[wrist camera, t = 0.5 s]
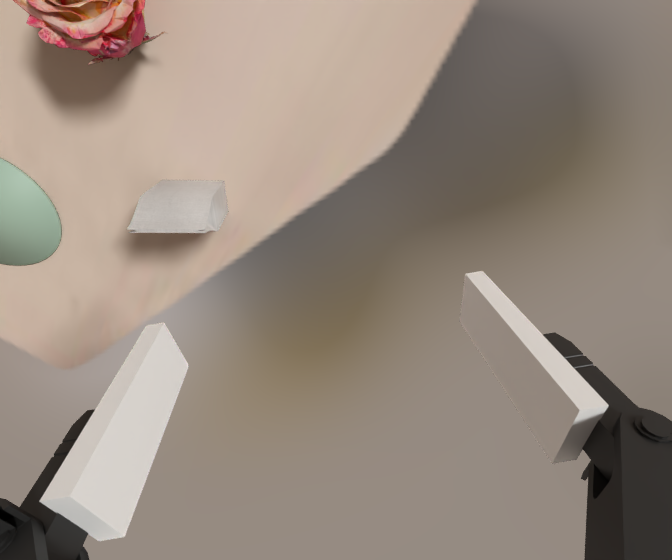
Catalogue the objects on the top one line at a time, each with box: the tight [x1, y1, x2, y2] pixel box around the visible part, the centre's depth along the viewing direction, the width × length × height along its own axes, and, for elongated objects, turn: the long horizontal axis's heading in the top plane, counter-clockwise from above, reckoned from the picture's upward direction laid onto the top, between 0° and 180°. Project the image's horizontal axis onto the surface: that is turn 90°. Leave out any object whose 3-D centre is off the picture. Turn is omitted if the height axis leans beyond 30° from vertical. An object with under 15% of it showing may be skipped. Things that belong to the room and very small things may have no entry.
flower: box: [13, 0, 166, 65], centre depth 25 cm, size 10×9×8 cm
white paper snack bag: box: [127, 180, 229, 233], centre depth 33 cm, size 4×7×10 cm, turn 87°
